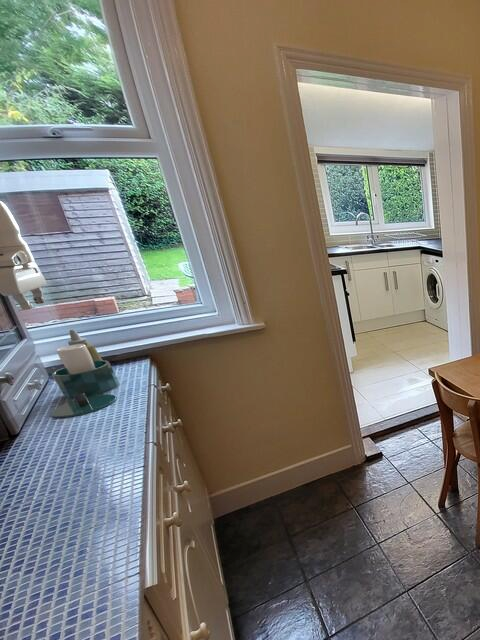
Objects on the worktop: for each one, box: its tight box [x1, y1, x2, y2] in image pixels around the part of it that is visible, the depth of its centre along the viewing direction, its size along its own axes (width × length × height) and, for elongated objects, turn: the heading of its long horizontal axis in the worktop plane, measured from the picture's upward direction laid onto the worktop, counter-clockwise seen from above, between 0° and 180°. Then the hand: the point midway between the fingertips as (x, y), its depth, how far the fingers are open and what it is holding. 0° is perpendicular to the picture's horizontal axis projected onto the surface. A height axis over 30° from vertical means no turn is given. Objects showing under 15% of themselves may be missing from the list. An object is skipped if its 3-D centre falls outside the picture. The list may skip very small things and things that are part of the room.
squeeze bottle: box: [67, 329, 103, 361], centre depth 144 cm, size 8×8×18 cm
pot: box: [51, 359, 120, 400], centre depth 135 cm, size 13×13×8 cm
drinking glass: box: [56, 344, 96, 374], centre depth 133 cm, size 7×7×15 cm
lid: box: [50, 393, 117, 419], centre depth 124 cm, size 14×14×5 cm
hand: (34, 306), depth 121 cm, fingers open, 8 cm apart
